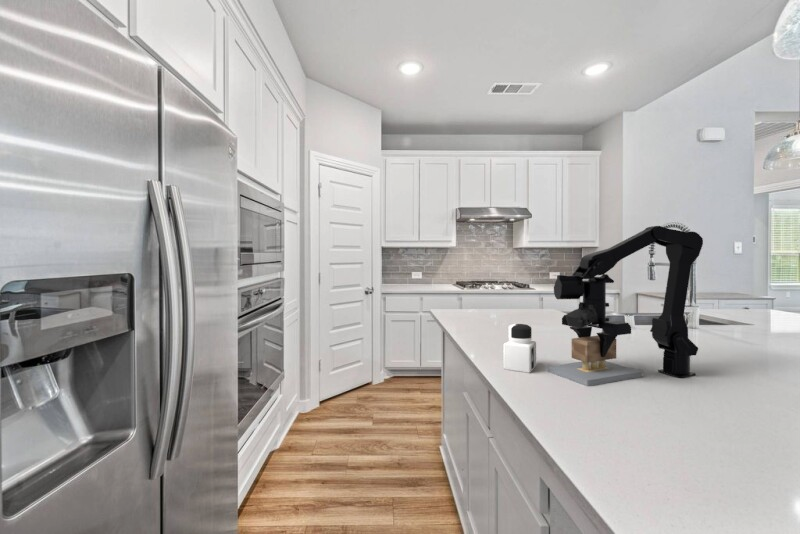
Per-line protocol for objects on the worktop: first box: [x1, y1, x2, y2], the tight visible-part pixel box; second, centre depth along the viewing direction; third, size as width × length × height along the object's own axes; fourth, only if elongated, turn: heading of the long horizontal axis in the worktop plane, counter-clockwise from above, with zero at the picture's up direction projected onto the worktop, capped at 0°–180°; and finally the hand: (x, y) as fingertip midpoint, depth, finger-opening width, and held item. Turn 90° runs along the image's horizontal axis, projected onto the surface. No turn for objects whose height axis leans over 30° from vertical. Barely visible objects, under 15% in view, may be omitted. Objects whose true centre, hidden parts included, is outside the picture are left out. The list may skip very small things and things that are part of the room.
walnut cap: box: [571, 335, 617, 363], centre depth 109 cm, size 11×5×6 cm, turn 112°
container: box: [502, 323, 537, 374], centre depth 116 cm, size 8×8×13 cm
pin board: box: [547, 360, 643, 387], centre depth 109 cm, size 20×14×5 cm
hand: (594, 354), depth 109 cm, fingers closed on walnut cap, 5 cm apart
